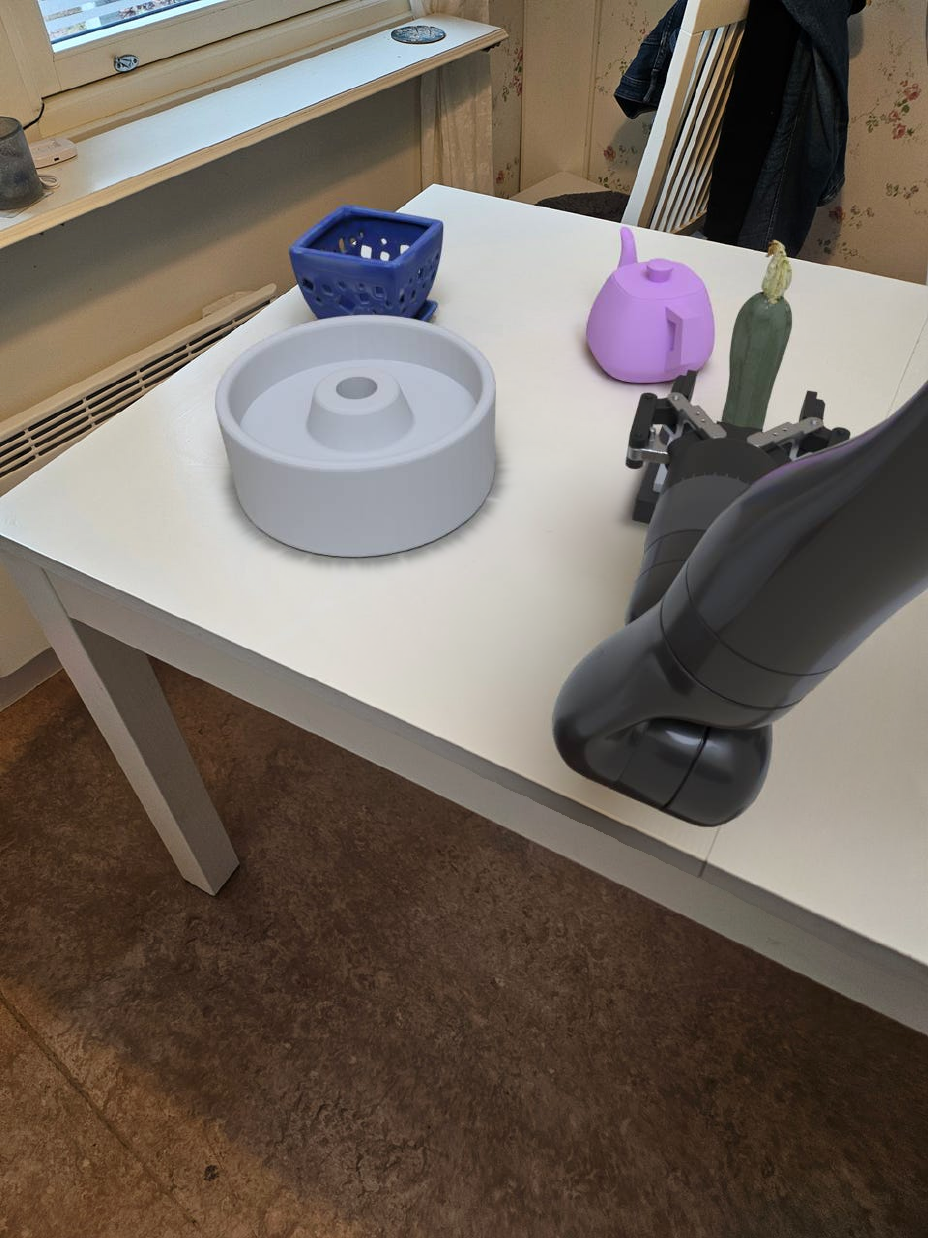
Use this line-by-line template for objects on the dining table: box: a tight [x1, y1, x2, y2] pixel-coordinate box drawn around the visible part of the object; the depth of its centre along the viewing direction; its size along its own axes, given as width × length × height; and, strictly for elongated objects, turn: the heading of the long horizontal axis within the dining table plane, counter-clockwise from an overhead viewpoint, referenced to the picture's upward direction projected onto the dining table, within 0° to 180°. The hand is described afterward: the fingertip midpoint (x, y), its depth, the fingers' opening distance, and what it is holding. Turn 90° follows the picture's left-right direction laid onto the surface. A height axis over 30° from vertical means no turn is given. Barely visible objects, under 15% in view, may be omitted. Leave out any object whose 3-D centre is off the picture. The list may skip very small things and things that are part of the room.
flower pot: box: [288, 204, 444, 322], centre depth 99 cm, size 13×13×12 cm
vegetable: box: [720, 239, 793, 430], centre depth 72 cm, size 4×4×20 cm
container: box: [214, 315, 497, 558], centre depth 81 cm, size 25×25×10 cm
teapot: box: [585, 225, 716, 384], centre depth 95 cm, size 13×20×11 cm
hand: (748, 391), depth 64 cm, fingers open, 8 cm apart
